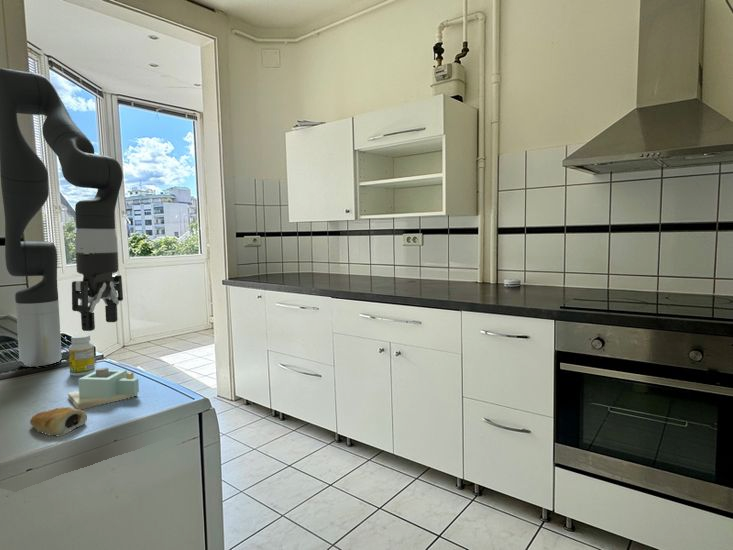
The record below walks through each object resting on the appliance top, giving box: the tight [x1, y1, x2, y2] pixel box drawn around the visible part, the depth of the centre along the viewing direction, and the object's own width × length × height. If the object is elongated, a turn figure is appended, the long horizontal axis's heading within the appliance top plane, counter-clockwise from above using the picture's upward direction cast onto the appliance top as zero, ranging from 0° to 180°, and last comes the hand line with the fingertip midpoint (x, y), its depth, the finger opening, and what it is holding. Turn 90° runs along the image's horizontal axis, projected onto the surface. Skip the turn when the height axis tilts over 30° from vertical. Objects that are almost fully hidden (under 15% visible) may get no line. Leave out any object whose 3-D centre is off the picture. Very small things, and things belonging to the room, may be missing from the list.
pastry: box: [29, 406, 88, 436], centre depth 79 cm, size 9×7×4 cm
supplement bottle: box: [68, 334, 96, 377], centre depth 110 cm, size 5×5×10 cm
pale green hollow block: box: [78, 369, 140, 398], centre depth 93 cm, size 10×6×4 cm, turn 88°
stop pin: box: [126, 372, 135, 378], centre depth 95 cm, size 1×1×4 cm
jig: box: [67, 367, 139, 410], centre depth 94 cm, size 9×11×6 cm
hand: (100, 326), depth 93 cm, fingers open, 8 cm apart
